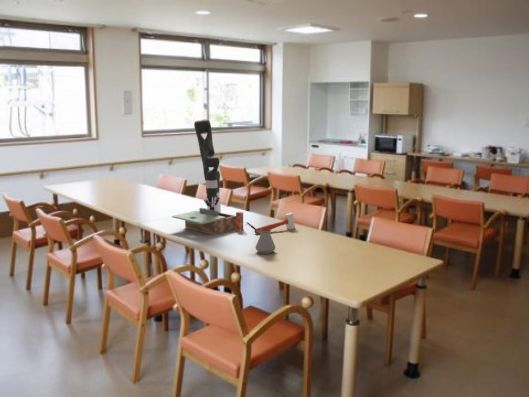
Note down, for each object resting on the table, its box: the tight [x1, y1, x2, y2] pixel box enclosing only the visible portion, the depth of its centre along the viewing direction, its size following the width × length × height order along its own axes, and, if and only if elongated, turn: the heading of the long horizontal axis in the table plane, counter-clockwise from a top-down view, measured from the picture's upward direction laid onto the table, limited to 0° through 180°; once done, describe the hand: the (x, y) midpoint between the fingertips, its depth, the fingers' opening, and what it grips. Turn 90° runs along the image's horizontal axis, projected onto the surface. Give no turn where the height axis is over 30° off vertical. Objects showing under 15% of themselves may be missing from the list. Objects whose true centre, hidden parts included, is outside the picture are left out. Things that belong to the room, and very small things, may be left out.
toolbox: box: [184, 212, 236, 236], centre depth 352 cm, size 20×28×9 cm
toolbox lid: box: [171, 207, 226, 224], centre depth 343 cm, size 21×28×4 cm
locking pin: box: [235, 211, 244, 232], centre depth 349 cm, size 3×3×12 cm
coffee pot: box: [244, 221, 276, 255], centre depth 304 cm, size 21×12×15 cm, turn 46°
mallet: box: [254, 212, 296, 235], centre depth 347 cm, size 11×4×30 cm
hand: (212, 212), depth 352 cm, fingers closed
